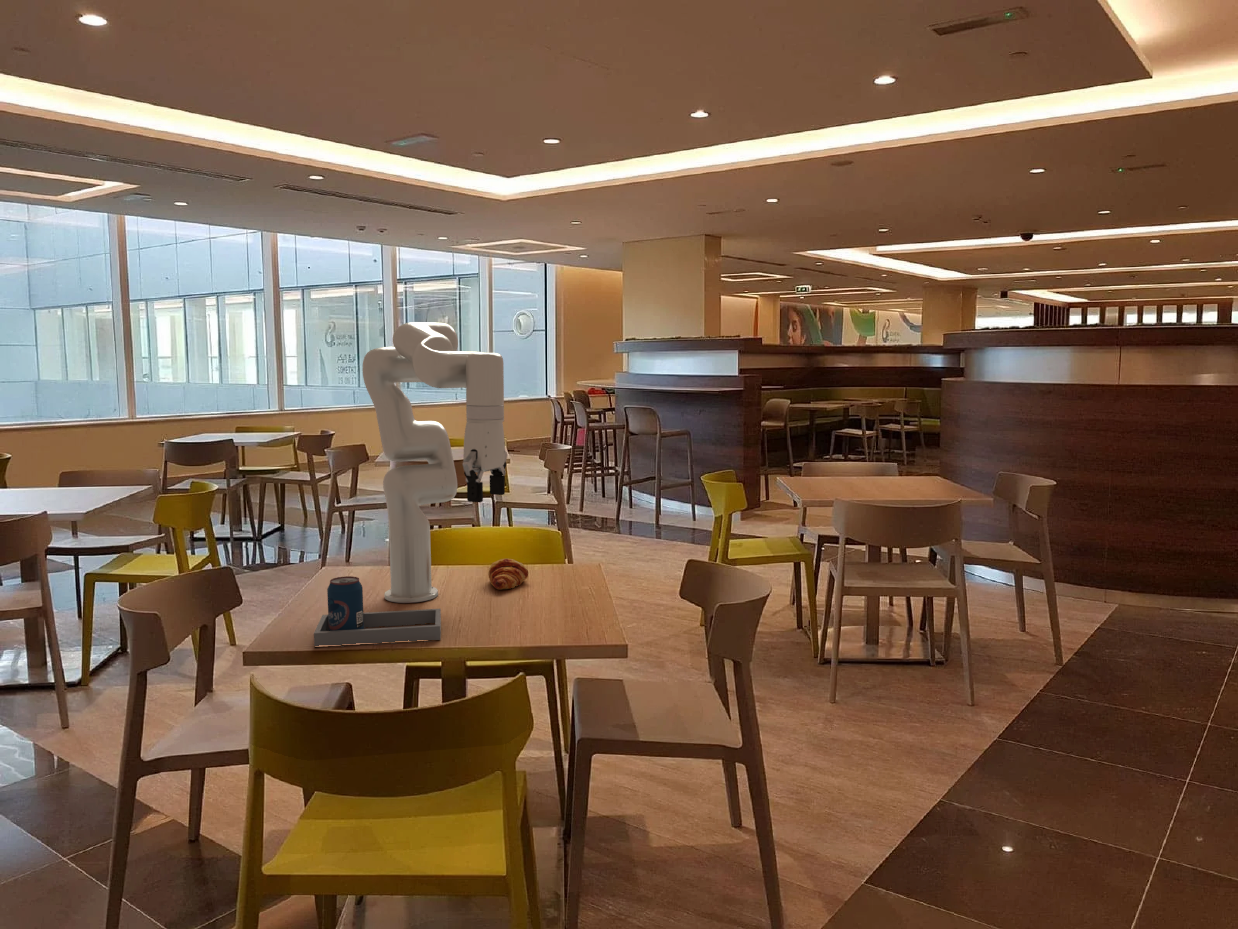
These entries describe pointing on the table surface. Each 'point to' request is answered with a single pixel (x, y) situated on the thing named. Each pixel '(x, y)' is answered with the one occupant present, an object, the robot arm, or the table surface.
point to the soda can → (345, 604)
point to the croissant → (507, 573)
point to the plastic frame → (384, 633)
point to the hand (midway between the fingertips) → (486, 498)
